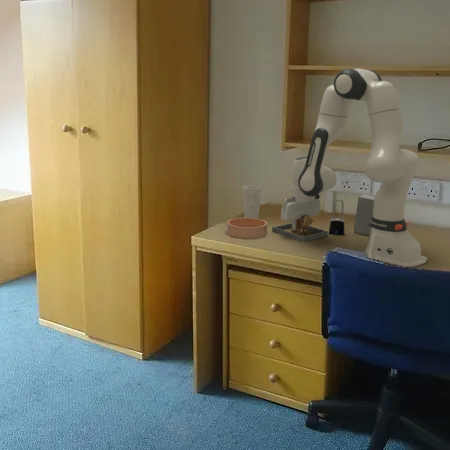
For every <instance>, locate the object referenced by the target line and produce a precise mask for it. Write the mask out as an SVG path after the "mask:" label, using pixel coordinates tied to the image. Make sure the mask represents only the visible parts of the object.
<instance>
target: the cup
mask: <svg viewBox="0 0 450 450" xmlns="http://www.w3.org/2000/svg"><path fill="white" fill-rule="evenodd" d="M262 187H263V186H260V185H255V184H247V185H246V184H245V185H242V197H243V198H242V199H243V200H242V202H243V203H242V204H243V216H244V217H243V218H257V219H259V214H260V213H259V212H260V205H261V197H262Z"/></svg>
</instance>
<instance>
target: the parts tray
mask: <svg viewBox="0 0 450 450" xmlns="http://www.w3.org/2000/svg"><path fill="white" fill-rule="evenodd" d="M291 225H292V224H291V222H290V223H285V224H280V225H276V226H273V227H272V226H271V227H272V228H271V232H273V233H275V234H278V235H282V236H283V237H288V238H290V239H294V240H297V241H299V242H303V243H305V242H310V241H313V240H318V239H321V238H326V237H328V235H329V234H328V233H329V230H324V229H320V228H317V227H315V226H310V225H309V226H308V227H307V228H306V229H305V231H307V232H311V233H313V234H310V235H302V234H300V235H298V233H293V232H291V231H287V230H288V229H291V227H290V228H289V226H291ZM325 236H326V237H325Z"/></svg>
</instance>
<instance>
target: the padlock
mask: <svg viewBox="0 0 450 450" xmlns="http://www.w3.org/2000/svg"><path fill="white" fill-rule="evenodd" d="M339 201H340V202H341V215H340V218H339V217H338V218H337V217H336V216H335V213H336V212H335V211H336V203H337V202H339ZM344 205H345V204H344V201H343V200H342V199H341V198H337V199H335V200H334V202H333V207H332V208H333V210H332V218H330V220H329V227H328V235H331V234H333V235H332V236H346V233H345V232H346V231H345V230H346V228H345V227H346V225H345V224H346V221H345V219H344V207H345V206H344ZM335 217H336V218H335Z"/></svg>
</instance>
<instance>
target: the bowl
mask: <svg viewBox="0 0 450 450" xmlns="http://www.w3.org/2000/svg"><path fill="white" fill-rule="evenodd" d="M226 233H227V235H228V236H230V237H234V238H236V239H237V238H238V239H247V240H249V239H250V240H251V239H260V238H264V237H266V235H268V222H267V221H266V220H263V219H260V218H258V219H257V218H244V217H236V218H235V217H234V218H231V219H229V220H227V222H226Z"/></svg>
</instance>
